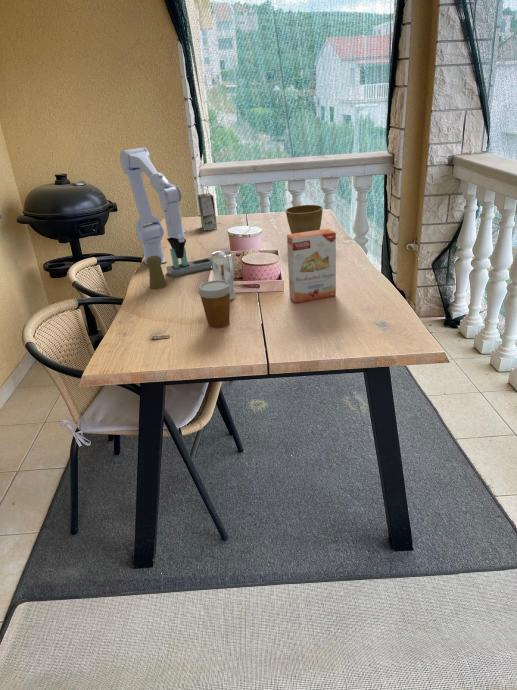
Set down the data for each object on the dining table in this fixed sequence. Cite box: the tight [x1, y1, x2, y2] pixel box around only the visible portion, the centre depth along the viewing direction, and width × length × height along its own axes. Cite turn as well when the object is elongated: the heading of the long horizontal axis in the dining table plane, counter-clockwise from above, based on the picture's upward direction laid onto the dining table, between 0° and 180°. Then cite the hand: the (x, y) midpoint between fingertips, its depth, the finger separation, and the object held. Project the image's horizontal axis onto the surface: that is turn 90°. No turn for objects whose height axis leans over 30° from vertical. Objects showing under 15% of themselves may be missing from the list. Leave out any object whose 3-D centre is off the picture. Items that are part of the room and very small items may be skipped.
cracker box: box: [286, 228, 337, 304], centre depth 161 cm, size 14×6×21 cm, turn 105°
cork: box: [146, 256, 167, 290], centre depth 185 cm, size 6×6×11 cm
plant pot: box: [285, 204, 324, 234], centre depth 212 cm, size 15×15×16 cm
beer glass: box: [211, 250, 237, 301], centre depth 168 cm, size 7×7×15 cm
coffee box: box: [197, 192, 218, 231], centre depth 254 cm, size 9×6×16 cm
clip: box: [169, 246, 189, 268], centre depth 196 cm, size 2×5×7 cm, turn 116°
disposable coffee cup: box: [197, 279, 231, 329], centre depth 151 cm, size 10×10×12 cm
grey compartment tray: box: [166, 257, 212, 278], centre depth 200 cm, size 6×18×2 cm, turn 116°
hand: (179, 256), depth 196 cm, fingers closed on clip, 2 cm apart
